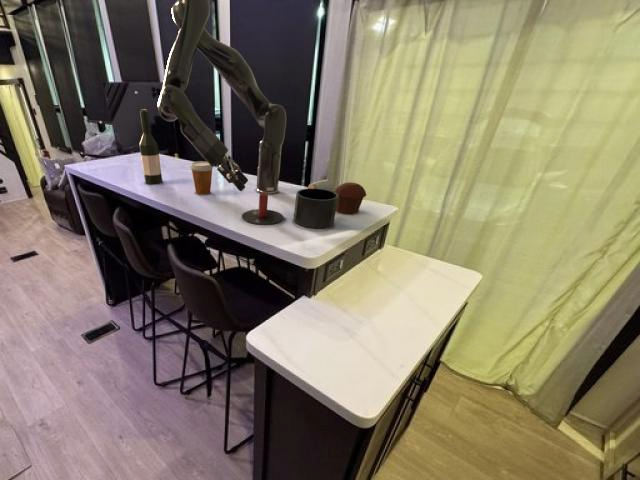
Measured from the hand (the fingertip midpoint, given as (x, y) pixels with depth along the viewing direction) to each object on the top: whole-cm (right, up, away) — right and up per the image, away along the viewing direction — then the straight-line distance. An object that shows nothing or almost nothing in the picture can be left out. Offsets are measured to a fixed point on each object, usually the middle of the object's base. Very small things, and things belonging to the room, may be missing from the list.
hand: (244, 185), depth 105 cm
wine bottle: (-43, +18, +44) cm, 64 cm away
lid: (+6, -9, +5) cm, 12 cm away
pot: (+24, -12, +3) cm, 27 cm away
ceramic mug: (+32, +3, +24) cm, 40 cm away
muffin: (+39, -4, +15) cm, 42 cm away
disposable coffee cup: (-18, +8, +31) cm, 37 cm away
